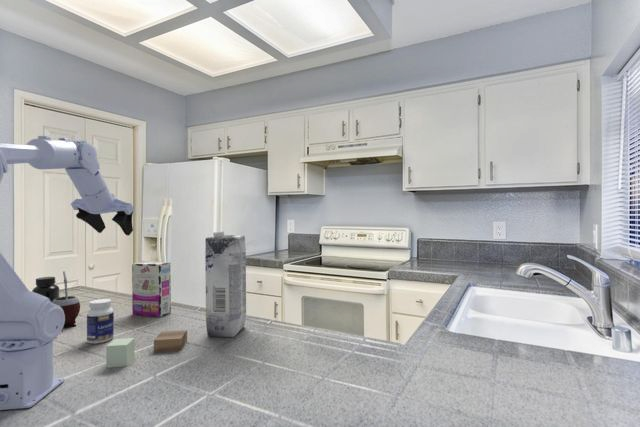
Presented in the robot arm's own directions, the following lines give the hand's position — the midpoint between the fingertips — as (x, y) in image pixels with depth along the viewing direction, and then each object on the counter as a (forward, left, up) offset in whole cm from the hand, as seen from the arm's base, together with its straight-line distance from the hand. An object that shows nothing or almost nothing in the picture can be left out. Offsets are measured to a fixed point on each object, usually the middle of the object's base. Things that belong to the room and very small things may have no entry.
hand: (115, 231), depth 88 cm
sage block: (-16, -7, -27) cm, 33 cm away
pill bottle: (-1, +4, -28) cm, 28 cm away
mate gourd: (+13, +20, -28) cm, 36 cm away
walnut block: (-8, -15, -28) cm, 33 cm away
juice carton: (0, -27, -28) cm, 39 cm away
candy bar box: (+21, -1, -28) cm, 35 cm away
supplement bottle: (+25, +32, -28) cm, 49 cm away
